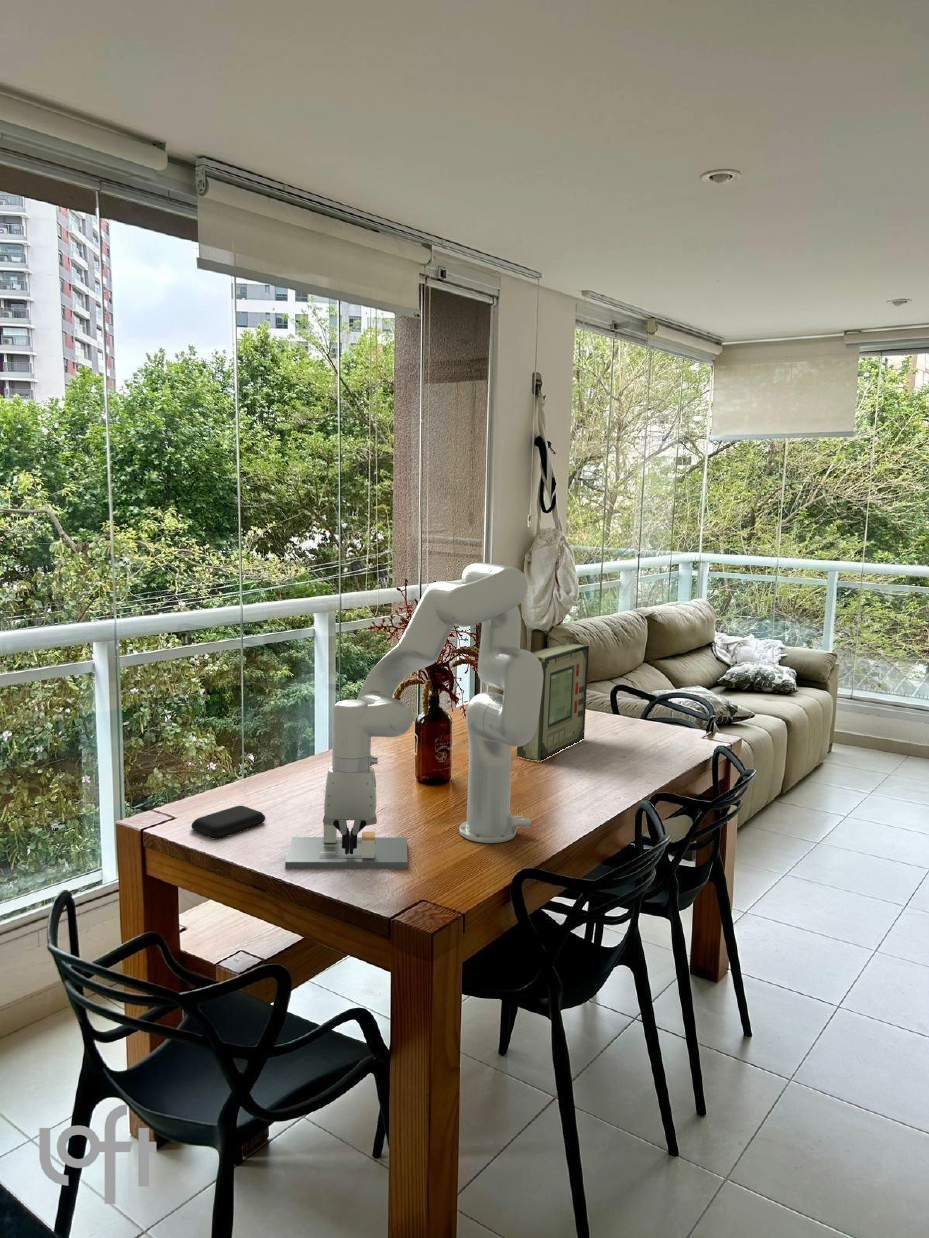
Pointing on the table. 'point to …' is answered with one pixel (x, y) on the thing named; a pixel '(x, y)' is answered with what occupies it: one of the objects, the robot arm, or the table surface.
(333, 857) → the grey slotted panel
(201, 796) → the table surface
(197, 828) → the carrying case or bag
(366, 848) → the block
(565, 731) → the control panel
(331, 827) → the breaker
